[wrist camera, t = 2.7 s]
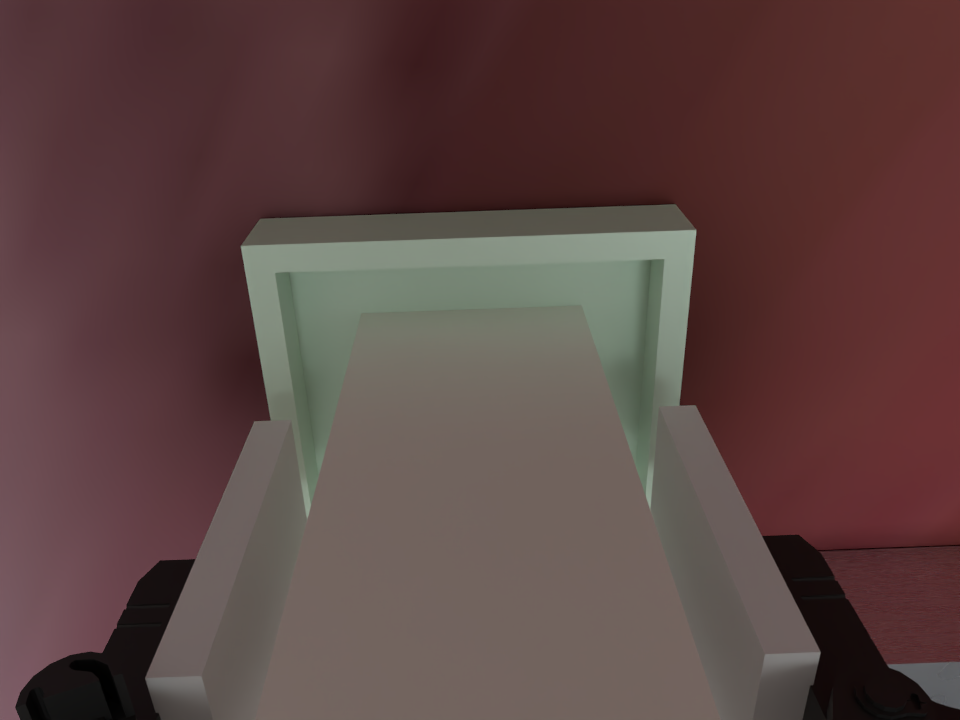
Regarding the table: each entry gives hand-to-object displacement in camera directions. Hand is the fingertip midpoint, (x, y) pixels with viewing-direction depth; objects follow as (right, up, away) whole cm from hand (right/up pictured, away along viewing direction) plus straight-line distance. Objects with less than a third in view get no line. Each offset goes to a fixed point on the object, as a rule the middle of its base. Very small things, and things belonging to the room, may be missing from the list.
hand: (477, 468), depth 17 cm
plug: (0, +1, +2) cm, 3 cm away
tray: (0, +1, +3) cm, 3 cm away
